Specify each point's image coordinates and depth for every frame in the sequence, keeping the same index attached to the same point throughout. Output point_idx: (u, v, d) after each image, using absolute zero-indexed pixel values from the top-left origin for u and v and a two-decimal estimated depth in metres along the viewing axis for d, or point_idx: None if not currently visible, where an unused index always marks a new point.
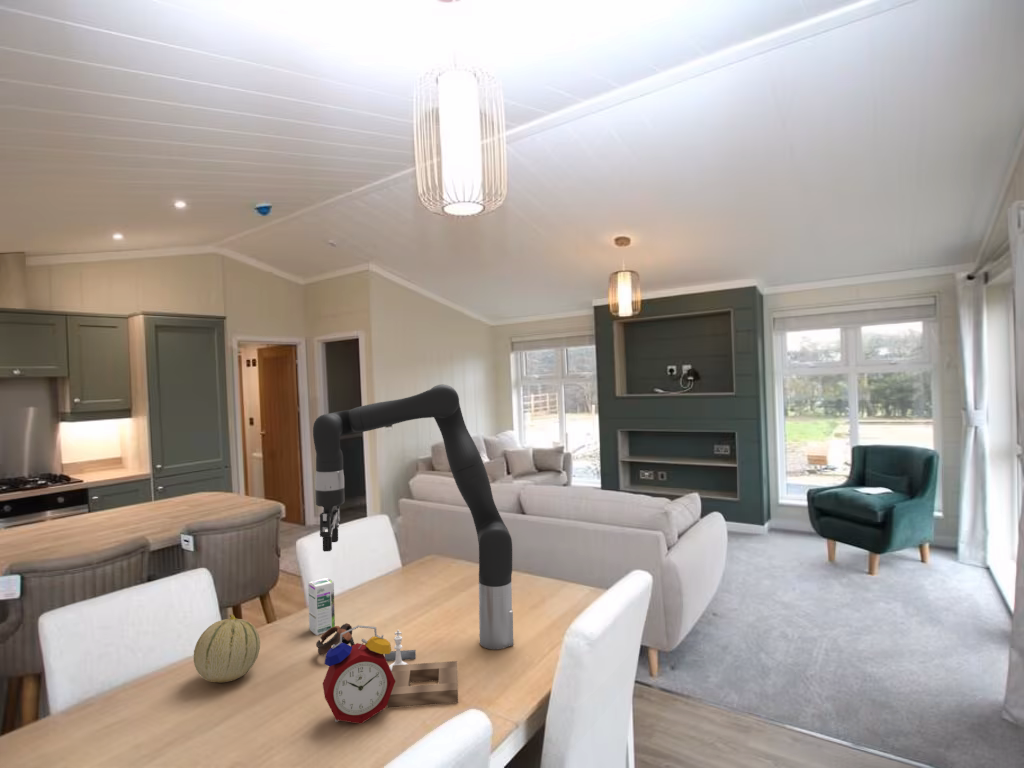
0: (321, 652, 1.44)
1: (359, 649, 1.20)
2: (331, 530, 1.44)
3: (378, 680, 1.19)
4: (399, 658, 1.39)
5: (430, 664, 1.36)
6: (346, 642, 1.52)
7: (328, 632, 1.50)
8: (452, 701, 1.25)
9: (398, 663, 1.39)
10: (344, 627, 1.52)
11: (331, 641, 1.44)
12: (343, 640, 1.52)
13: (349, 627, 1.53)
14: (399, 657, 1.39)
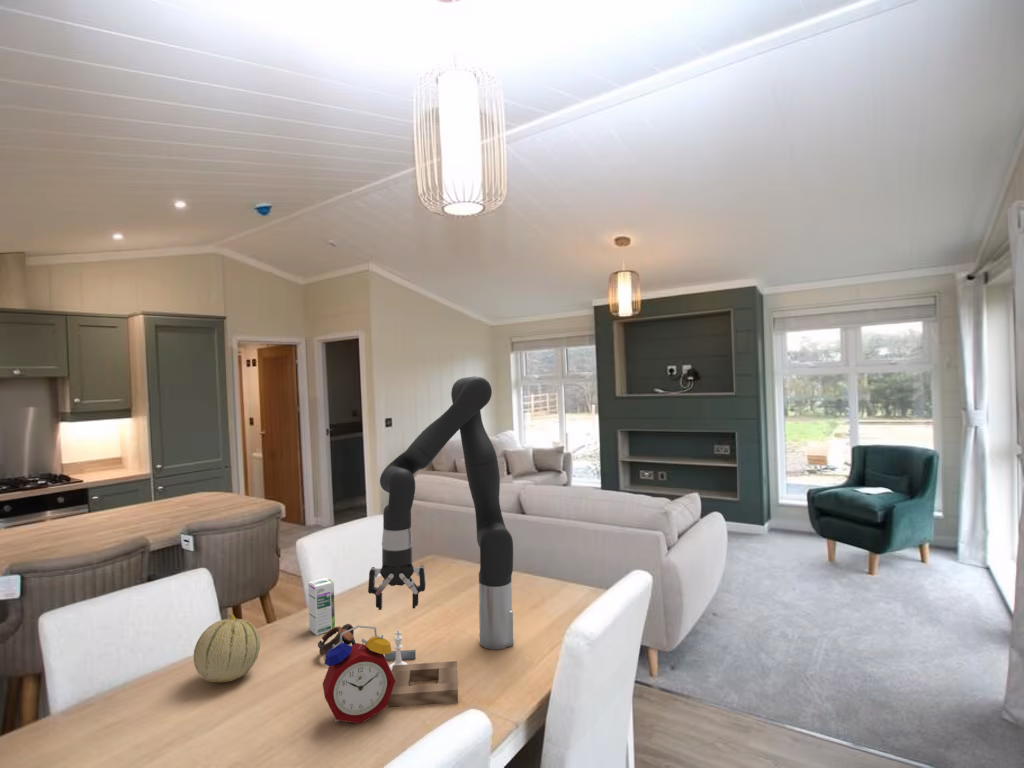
0: (323, 652, 1.44)
1: (359, 649, 1.20)
2: None
3: (378, 680, 1.19)
4: (399, 658, 1.39)
5: (430, 664, 1.36)
6: (347, 642, 1.51)
7: (329, 632, 1.49)
8: (452, 701, 1.25)
9: (398, 663, 1.39)
10: (345, 627, 1.51)
11: (333, 641, 1.44)
12: (344, 640, 1.52)
13: (350, 627, 1.53)
14: (399, 657, 1.39)
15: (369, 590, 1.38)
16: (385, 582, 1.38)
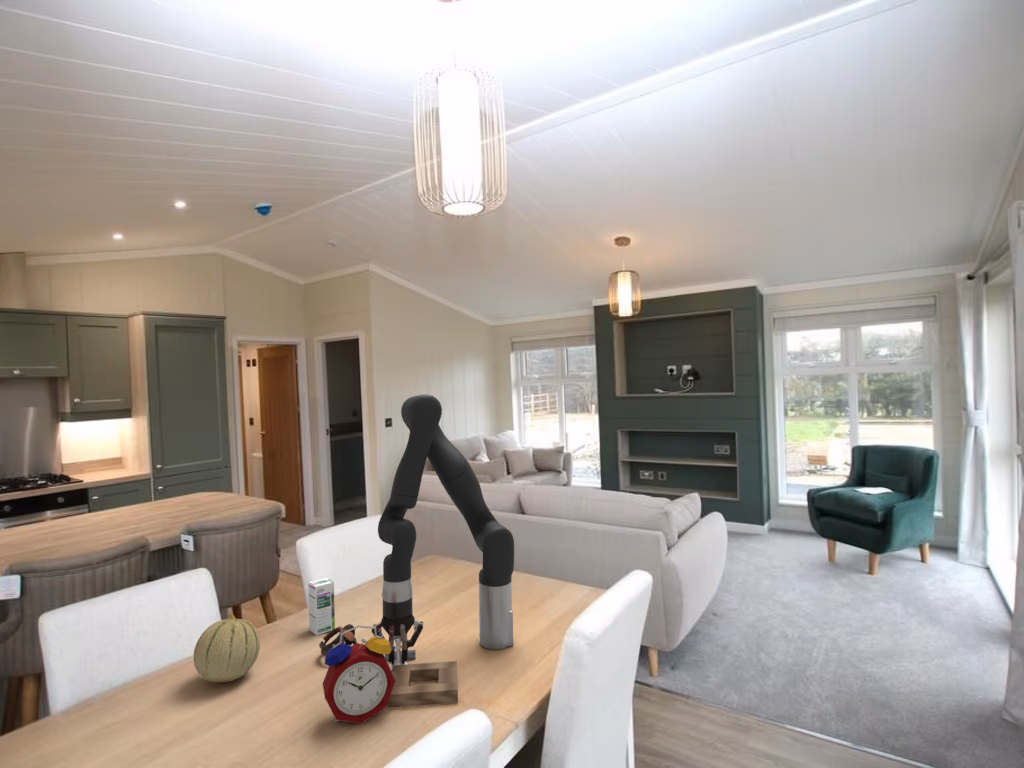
0: (324, 653, 1.43)
1: (359, 649, 1.20)
2: (407, 639, 1.41)
3: (378, 680, 1.19)
4: (399, 658, 1.39)
5: (430, 664, 1.36)
6: (349, 643, 1.51)
7: (331, 633, 1.49)
8: (452, 701, 1.25)
9: (398, 663, 1.39)
10: (347, 628, 1.51)
11: (334, 642, 1.43)
12: (346, 641, 1.51)
13: None
14: (399, 657, 1.39)
15: None
16: (390, 635, 1.38)
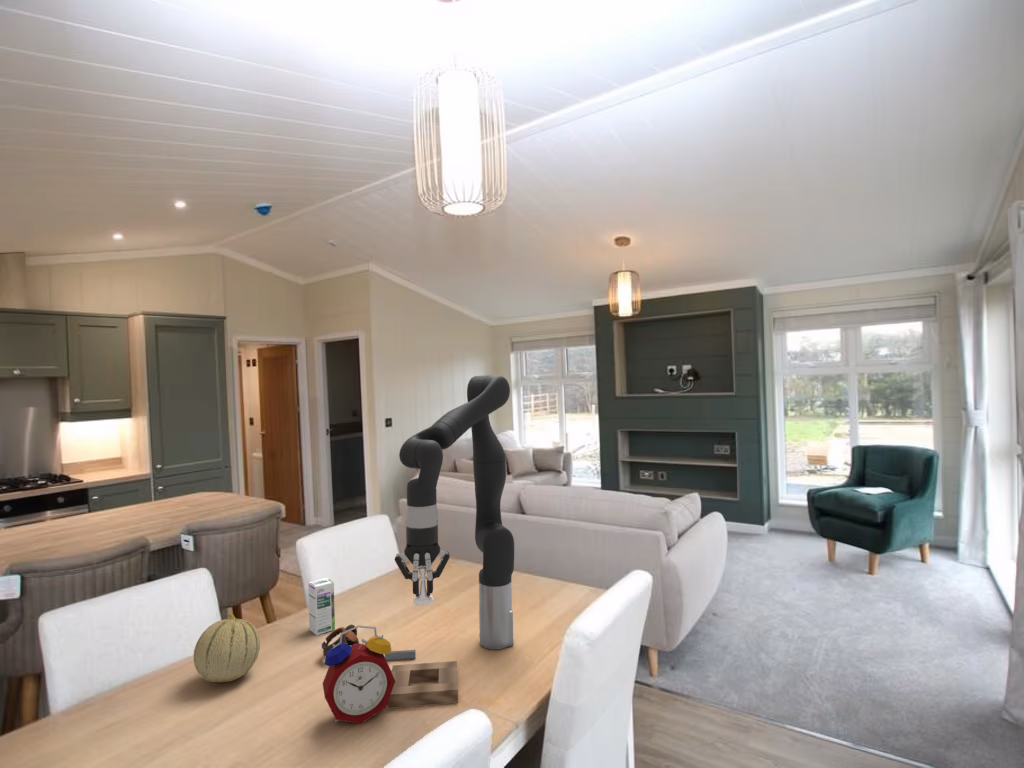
0: None
1: (359, 649, 1.20)
2: (432, 570, 1.32)
3: (378, 680, 1.19)
4: (424, 590, 1.30)
5: (430, 664, 1.36)
6: (351, 643, 1.51)
7: (333, 633, 1.49)
8: (452, 701, 1.25)
9: (423, 595, 1.30)
10: (349, 628, 1.51)
11: (337, 642, 1.43)
12: (348, 641, 1.51)
13: None
14: (424, 588, 1.30)
15: (405, 576, 1.29)
16: (415, 564, 1.29)
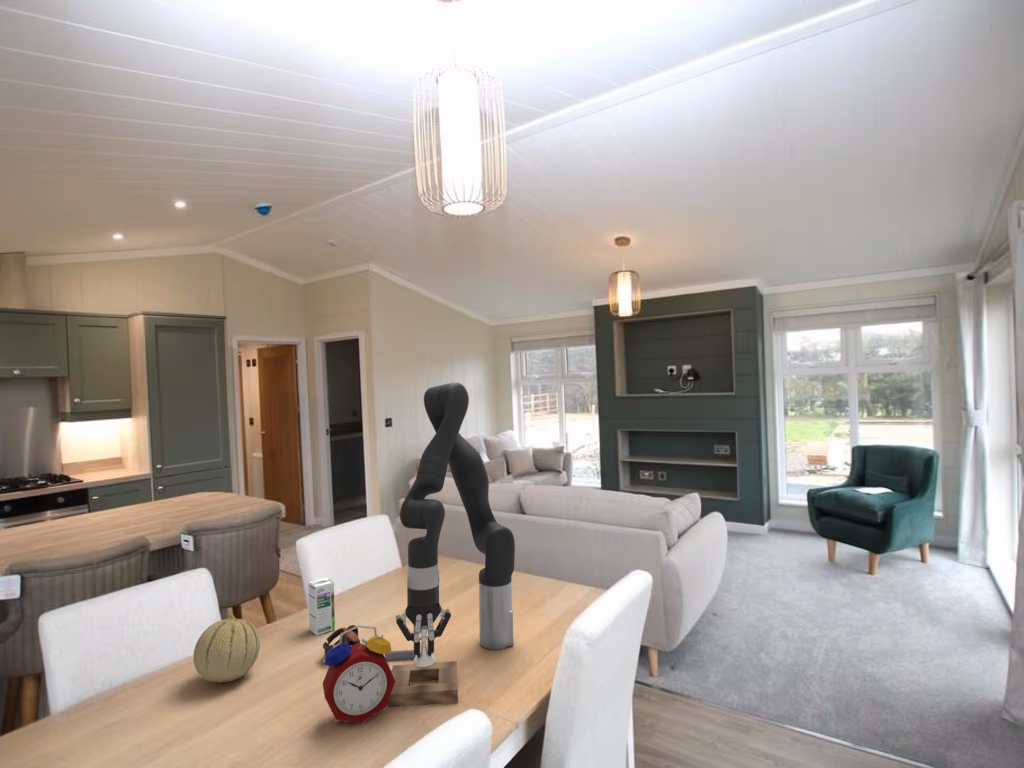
0: None
1: (359, 649, 1.20)
2: None
3: (378, 680, 1.19)
4: (425, 650, 1.30)
5: None
6: (352, 644, 1.51)
7: (334, 634, 1.49)
8: (452, 701, 1.25)
9: (424, 655, 1.29)
10: (350, 628, 1.51)
11: None
12: (349, 642, 1.51)
13: None
14: (425, 649, 1.30)
15: (407, 638, 1.28)
16: (417, 626, 1.28)
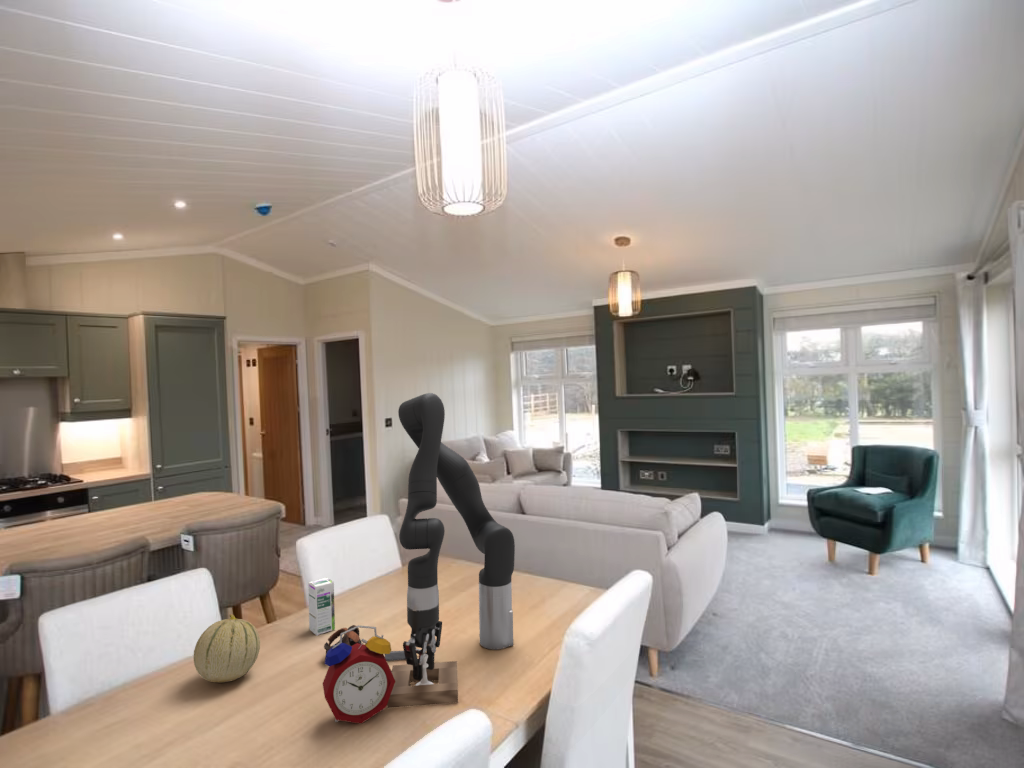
0: None
1: (359, 649, 1.20)
2: (427, 644, 1.34)
3: (378, 680, 1.19)
4: (426, 676, 1.30)
5: None
6: (353, 644, 1.51)
7: (335, 634, 1.48)
8: (452, 701, 1.25)
9: (427, 682, 1.30)
10: None
11: None
12: (350, 642, 1.51)
13: (356, 629, 1.52)
14: (426, 675, 1.30)
15: (415, 663, 1.25)
16: (424, 646, 1.28)
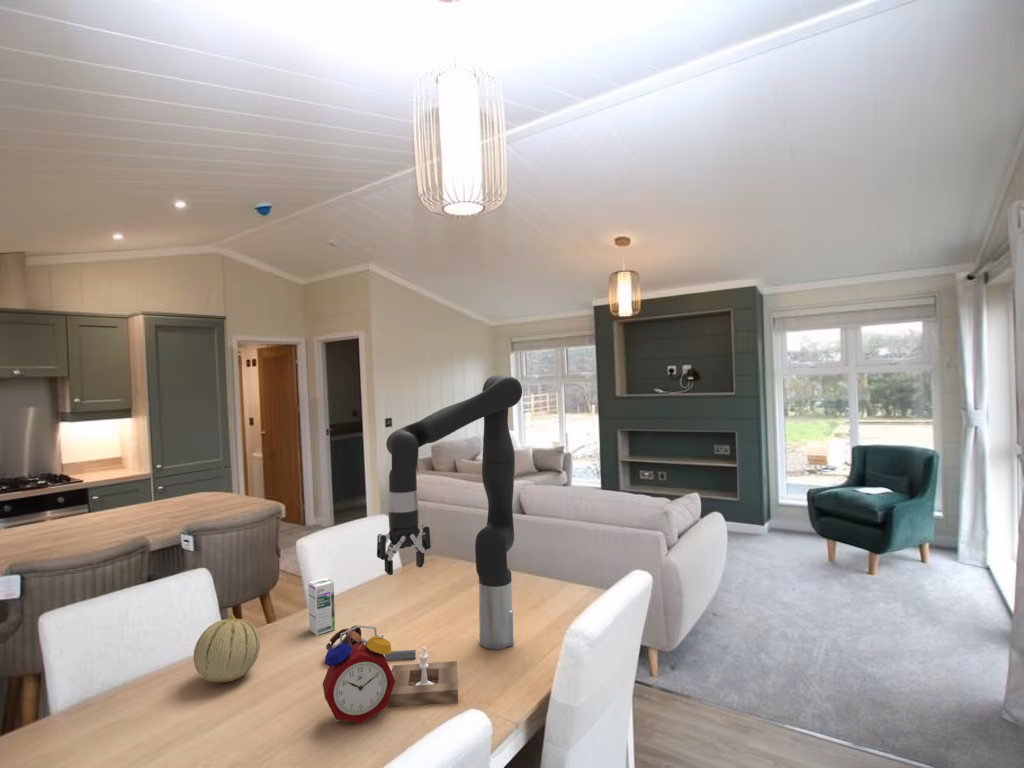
0: None
1: (359, 649, 1.20)
2: None
3: (378, 680, 1.19)
4: (426, 676, 1.30)
5: (430, 664, 1.36)
6: None
7: (337, 634, 1.48)
8: (452, 701, 1.25)
9: (427, 682, 1.30)
10: None
11: None
12: (352, 642, 1.50)
13: (358, 629, 1.52)
14: (426, 675, 1.30)
15: (382, 556, 1.36)
16: (397, 545, 1.38)
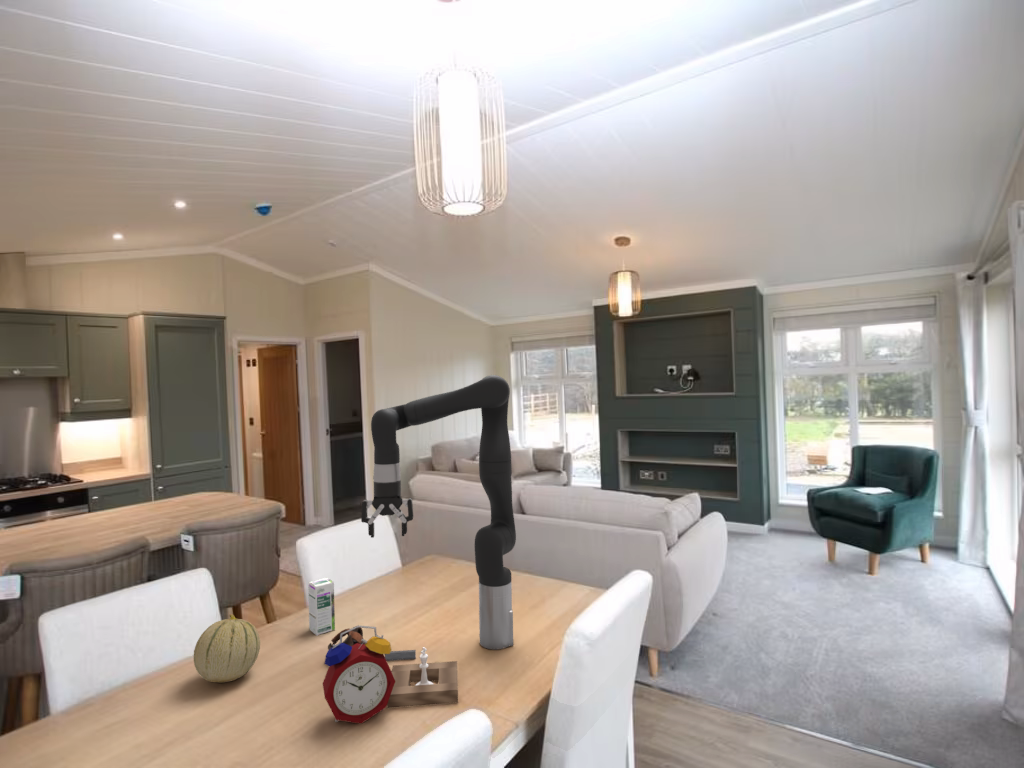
0: None
1: (359, 649, 1.20)
2: (404, 515, 1.56)
3: (378, 680, 1.19)
4: (426, 676, 1.30)
5: (430, 664, 1.36)
6: None
7: (339, 635, 1.48)
8: (452, 701, 1.25)
9: (427, 682, 1.30)
10: (355, 629, 1.50)
11: None
12: (354, 643, 1.50)
13: (360, 629, 1.52)
14: (426, 675, 1.30)
15: (362, 519, 1.52)
16: (376, 512, 1.52)
